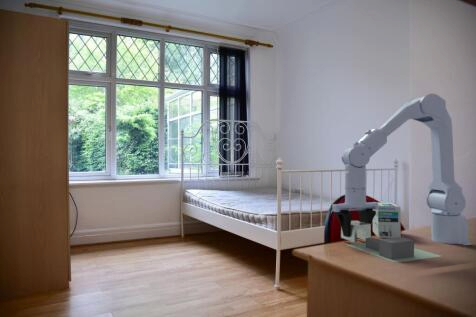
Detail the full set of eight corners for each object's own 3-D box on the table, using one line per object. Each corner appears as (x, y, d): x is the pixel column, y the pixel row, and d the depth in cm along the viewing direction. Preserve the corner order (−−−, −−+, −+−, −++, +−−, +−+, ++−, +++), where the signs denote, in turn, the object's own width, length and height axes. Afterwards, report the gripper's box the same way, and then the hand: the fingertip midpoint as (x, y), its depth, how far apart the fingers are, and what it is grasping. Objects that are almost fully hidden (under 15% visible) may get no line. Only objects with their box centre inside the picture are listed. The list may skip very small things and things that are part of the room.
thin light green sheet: (388, 243, 104) (388, 226, 104) (442, 260, 87) (442, 240, 87) (345, 248, 99) (345, 230, 99) (394, 266, 82) (394, 245, 82)
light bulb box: (401, 242, 106) (401, 206, 106) (377, 241, 108) (377, 205, 108) (393, 234, 117) (393, 202, 117) (371, 233, 118) (371, 201, 118)
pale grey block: (356, 236, 105) (356, 220, 105) (370, 240, 100) (370, 223, 100) (341, 237, 103) (341, 221, 103) (354, 242, 98) (354, 225, 98)
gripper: (366, 186, 108) (366, 231, 108) (325, 188, 103) (326, 234, 103) (383, 188, 101) (383, 235, 101) (340, 190, 96) (340, 239, 96)
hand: (355, 235), depth 102 cm, fingers closed on pale grey block, 6 cm apart
